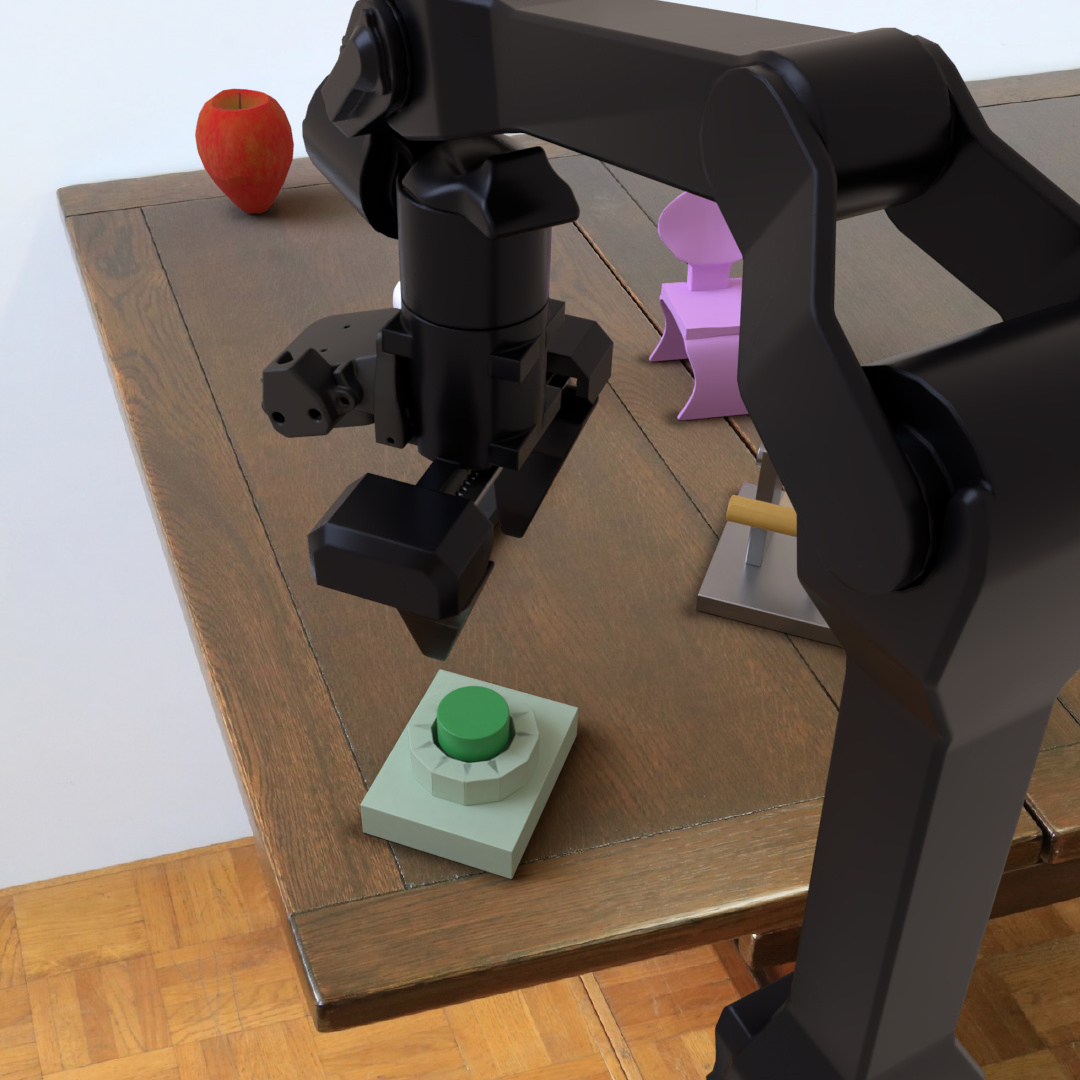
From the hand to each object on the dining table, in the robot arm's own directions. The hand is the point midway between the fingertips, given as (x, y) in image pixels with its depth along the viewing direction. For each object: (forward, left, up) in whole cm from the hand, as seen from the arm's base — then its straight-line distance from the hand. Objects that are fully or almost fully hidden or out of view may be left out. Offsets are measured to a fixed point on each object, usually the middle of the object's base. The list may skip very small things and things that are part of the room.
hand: (476, 592), depth 61 cm
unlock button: (0, 0, -9) cm, 9 cm away
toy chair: (+41, -2, -13) cm, 43 cm away
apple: (+54, +43, -13) cm, 70 cm away
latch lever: (+18, -12, -5) cm, 22 cm away
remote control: (+20, +9, -13) cm, 25 cm away
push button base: (0, 0, -13) cm, 13 cm away
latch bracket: (+23, -12, -13) cm, 29 cm away
